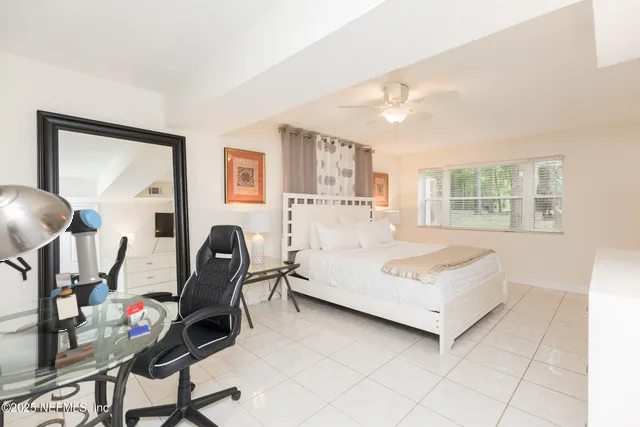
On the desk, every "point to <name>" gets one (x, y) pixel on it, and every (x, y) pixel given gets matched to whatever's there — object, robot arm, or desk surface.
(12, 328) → the desk surface
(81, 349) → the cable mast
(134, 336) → the hard drive
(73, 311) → the sleeve
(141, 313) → the ink cartridge box
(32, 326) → the desk surface
